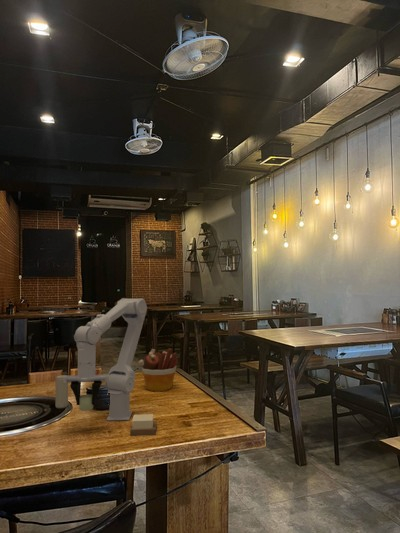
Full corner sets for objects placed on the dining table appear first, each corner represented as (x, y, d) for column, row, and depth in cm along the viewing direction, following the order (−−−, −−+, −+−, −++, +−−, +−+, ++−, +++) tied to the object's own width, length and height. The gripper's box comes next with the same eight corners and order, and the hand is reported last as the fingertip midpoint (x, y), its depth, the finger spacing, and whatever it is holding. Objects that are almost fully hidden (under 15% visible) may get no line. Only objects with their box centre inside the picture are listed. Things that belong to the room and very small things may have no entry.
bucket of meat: (133, 387, 188) (133, 345, 189) (163, 382, 198) (163, 342, 199) (155, 396, 172) (155, 350, 173) (186, 390, 182) (186, 346, 183)
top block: (133, 422, 133) (133, 414, 133) (153, 421, 134) (153, 414, 134) (132, 429, 127) (132, 421, 127) (152, 428, 127) (152, 420, 127)
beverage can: (69, 404, 160) (69, 375, 161) (65, 408, 155) (66, 377, 156) (57, 405, 160) (57, 375, 161) (53, 408, 155) (53, 377, 156)
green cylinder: (81, 406, 132) (81, 394, 133) (94, 406, 133) (94, 394, 133) (77, 410, 128) (77, 398, 128) (91, 410, 128) (91, 398, 128)
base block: (133, 429, 134) (133, 421, 134) (156, 428, 134) (156, 420, 134) (130, 437, 126) (130, 429, 126) (155, 437, 126) (155, 429, 127)
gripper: (60, 365, 127) (60, 408, 126) (106, 364, 128) (106, 407, 127) (67, 361, 134) (66, 402, 133) (110, 360, 135) (110, 401, 134)
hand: (86, 404), depth 130 cm, fingers closed on green cylinder, 4 cm apart
